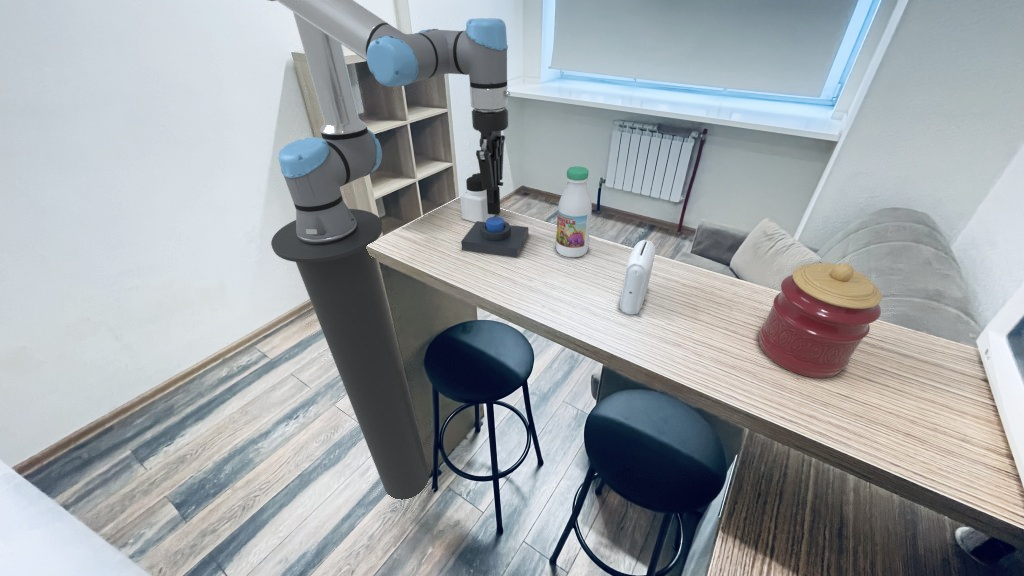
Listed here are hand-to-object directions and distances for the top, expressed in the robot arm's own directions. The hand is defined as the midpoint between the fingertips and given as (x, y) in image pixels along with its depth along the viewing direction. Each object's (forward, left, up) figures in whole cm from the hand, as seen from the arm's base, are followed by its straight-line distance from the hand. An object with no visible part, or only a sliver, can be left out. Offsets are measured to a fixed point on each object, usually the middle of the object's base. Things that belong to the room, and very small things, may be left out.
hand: (493, 213), depth 98 cm
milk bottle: (+18, +6, -8) cm, 21 cm away
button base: (0, 0, -8) cm, 8 cm away
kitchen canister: (+66, -6, -8) cm, 67 cm away
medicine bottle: (-12, +10, -8) cm, 18 cm away
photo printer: (+37, -6, -8) cm, 39 cm away
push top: (0, 0, -4) cm, 4 cm away
